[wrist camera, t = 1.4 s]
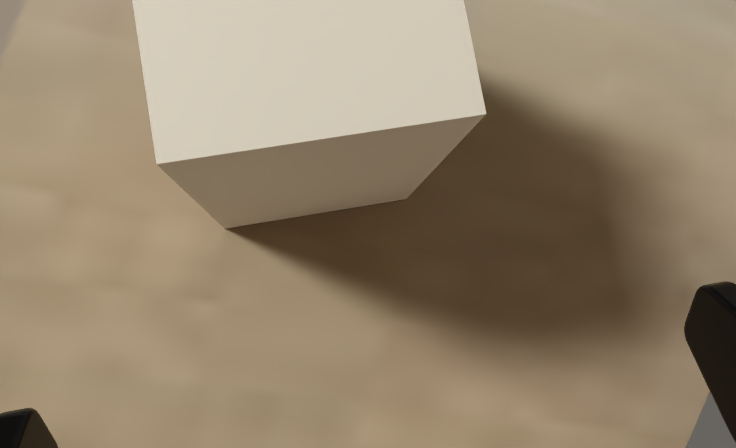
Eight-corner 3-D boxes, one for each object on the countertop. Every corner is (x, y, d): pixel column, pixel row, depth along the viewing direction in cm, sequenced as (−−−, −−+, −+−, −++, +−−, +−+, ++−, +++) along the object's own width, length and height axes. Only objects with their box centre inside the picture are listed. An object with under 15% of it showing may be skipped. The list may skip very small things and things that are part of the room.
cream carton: (410, 198, 22) (494, 113, 12) (224, 228, 22) (156, 163, 12) (378, 26, 23) (433, -185, 13) (196, 51, 22) (110, -153, 12)
